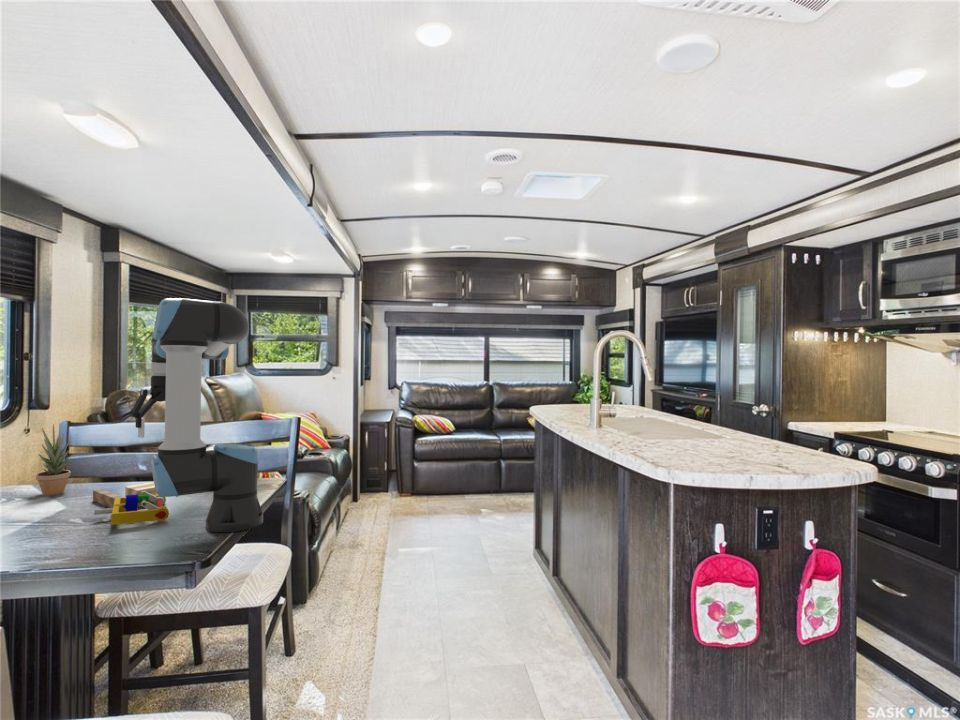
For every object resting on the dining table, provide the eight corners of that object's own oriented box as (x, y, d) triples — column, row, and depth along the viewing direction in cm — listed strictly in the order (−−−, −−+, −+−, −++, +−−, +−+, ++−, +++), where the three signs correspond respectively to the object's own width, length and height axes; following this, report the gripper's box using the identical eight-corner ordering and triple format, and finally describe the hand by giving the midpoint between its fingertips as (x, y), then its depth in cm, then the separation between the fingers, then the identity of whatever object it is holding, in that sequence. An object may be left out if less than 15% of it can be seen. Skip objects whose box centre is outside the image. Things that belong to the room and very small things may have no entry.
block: (165, 496, 182) (165, 485, 182) (136, 502, 174) (137, 490, 175) (153, 493, 187) (153, 481, 187) (125, 498, 180) (125, 486, 180)
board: (124, 508, 166) (124, 497, 166) (115, 510, 164) (115, 499, 164) (101, 499, 176) (101, 489, 176) (92, 500, 174) (93, 490, 174)
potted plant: (29, 494, 180) (30, 423, 181) (60, 489, 189) (61, 421, 189) (46, 498, 177) (47, 425, 177) (77, 492, 185) (78, 422, 185)
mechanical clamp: (165, 483, 177) (170, 499, 152) (164, 502, 176) (168, 521, 151) (99, 487, 167) (92, 506, 142) (97, 507, 166) (90, 529, 141)
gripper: (193, 374, 196) (192, 430, 196) (118, 374, 175) (117, 438, 175) (204, 374, 192) (203, 432, 192) (129, 375, 171) (127, 440, 171)
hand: (162, 435), depth 183 cm, fingers open, 13 cm apart
